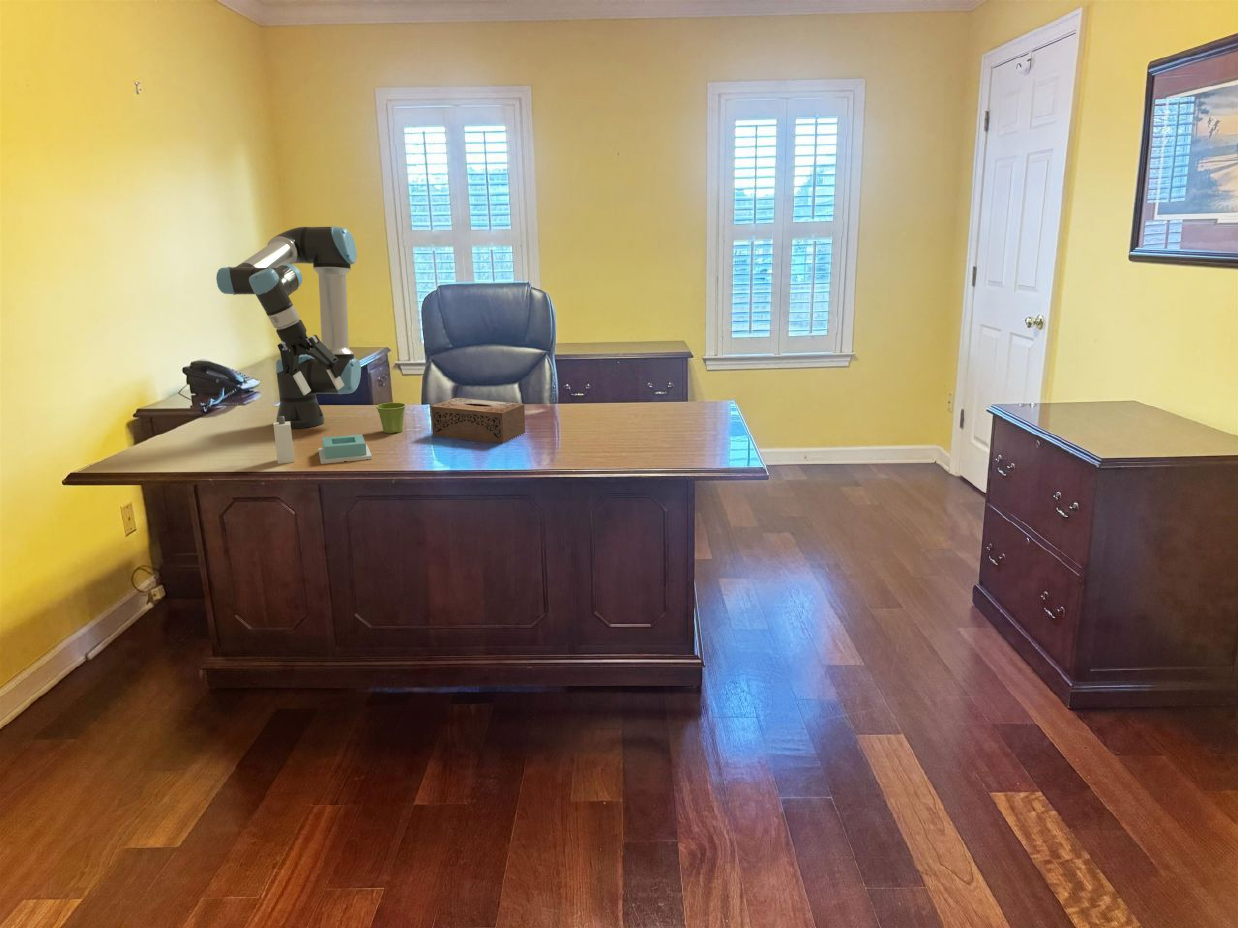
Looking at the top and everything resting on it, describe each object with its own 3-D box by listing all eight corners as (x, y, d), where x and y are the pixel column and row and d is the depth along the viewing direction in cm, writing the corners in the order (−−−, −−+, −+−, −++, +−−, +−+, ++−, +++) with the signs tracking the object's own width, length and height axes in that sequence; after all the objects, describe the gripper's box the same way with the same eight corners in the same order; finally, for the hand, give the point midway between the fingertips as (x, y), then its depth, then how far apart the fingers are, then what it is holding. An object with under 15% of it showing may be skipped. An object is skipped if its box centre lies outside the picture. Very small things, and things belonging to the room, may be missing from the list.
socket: (320, 463, 234) (319, 448, 233) (318, 451, 247) (317, 437, 246) (372, 459, 240) (370, 444, 238) (367, 447, 252) (365, 432, 251)
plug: (277, 463, 235) (272, 419, 231) (277, 459, 239) (272, 415, 235) (294, 462, 236) (289, 417, 233) (294, 458, 240) (289, 414, 237)
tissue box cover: (525, 434, 270) (524, 404, 267) (503, 444, 257) (502, 413, 254) (457, 426, 279) (455, 397, 276) (432, 436, 266) (431, 406, 263)
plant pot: (399, 435, 266) (398, 409, 264) (372, 434, 268) (370, 407, 265) (412, 428, 275) (410, 403, 272) (386, 427, 277) (384, 402, 274)
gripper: (248, 336, 234) (285, 401, 244) (311, 323, 223) (347, 391, 233) (266, 325, 240) (302, 389, 250) (328, 311, 229) (363, 379, 238)
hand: (323, 390), depth 241 cm, fingers open, 13 cm apart
